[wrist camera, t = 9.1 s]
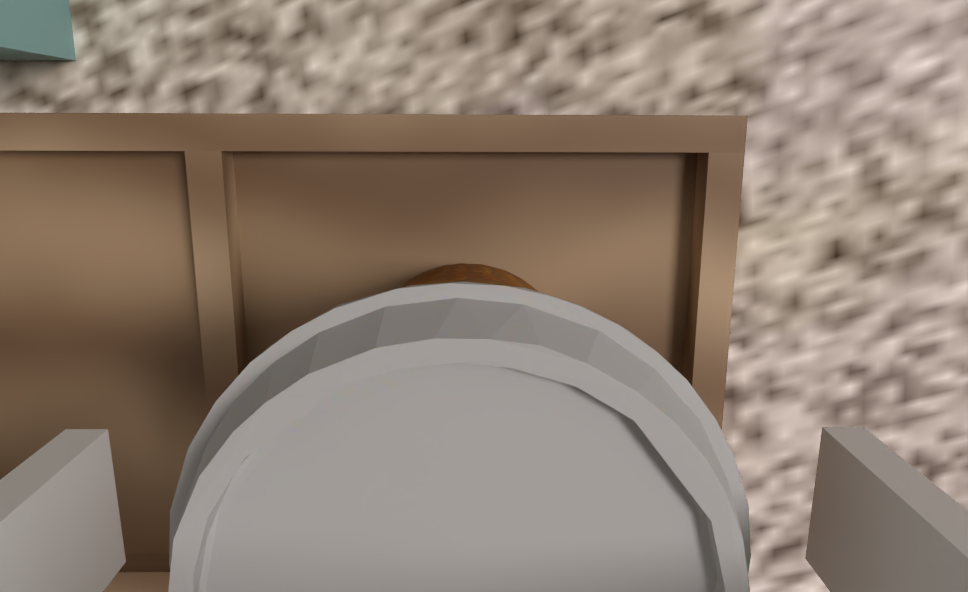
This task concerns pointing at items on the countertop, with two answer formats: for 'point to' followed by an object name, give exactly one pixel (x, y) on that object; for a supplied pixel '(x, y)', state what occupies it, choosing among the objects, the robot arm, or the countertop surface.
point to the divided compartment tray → (323, 255)
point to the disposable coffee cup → (459, 456)
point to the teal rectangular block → (36, 30)
